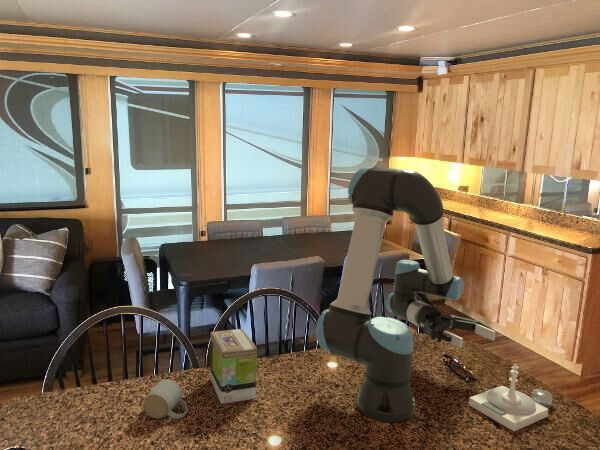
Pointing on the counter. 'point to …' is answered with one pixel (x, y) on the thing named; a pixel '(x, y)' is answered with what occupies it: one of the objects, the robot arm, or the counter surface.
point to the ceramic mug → (164, 400)
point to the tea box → (233, 365)
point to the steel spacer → (542, 397)
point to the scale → (508, 408)
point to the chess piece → (512, 389)
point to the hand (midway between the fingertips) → (478, 339)
